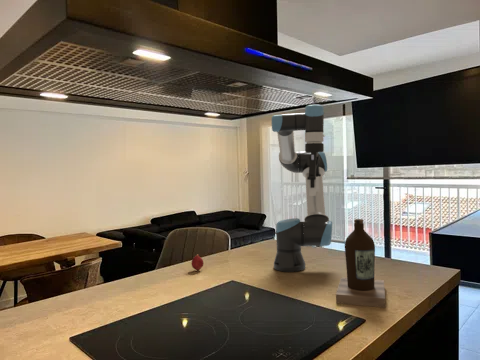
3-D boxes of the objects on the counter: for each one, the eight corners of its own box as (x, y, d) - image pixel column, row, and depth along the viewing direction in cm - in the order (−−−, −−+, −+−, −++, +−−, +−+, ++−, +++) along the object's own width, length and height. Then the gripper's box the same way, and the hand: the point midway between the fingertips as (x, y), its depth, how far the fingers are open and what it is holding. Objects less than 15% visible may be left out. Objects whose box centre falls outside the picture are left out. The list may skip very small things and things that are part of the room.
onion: (192, 272, 167) (191, 256, 166) (191, 269, 172) (190, 253, 172) (204, 271, 168) (203, 255, 167) (203, 268, 173) (202, 252, 173)
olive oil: (341, 283, 134) (339, 218, 133) (367, 281, 135) (365, 216, 134) (353, 292, 123) (351, 222, 123) (381, 290, 125) (379, 220, 124)
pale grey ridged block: (341, 284, 141) (341, 277, 141) (384, 287, 135) (383, 280, 135) (336, 302, 123) (335, 294, 123) (385, 307, 117) (385, 298, 117)
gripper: (321, 142, 132) (320, 197, 134) (325, 142, 155) (325, 190, 157) (301, 142, 134) (301, 197, 136) (308, 143, 158) (308, 189, 160)
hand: (314, 193), depth 147 cm, fingers open, 13 cm apart
